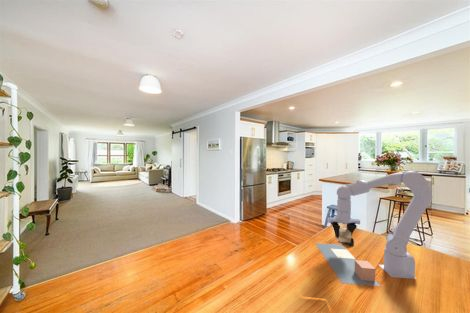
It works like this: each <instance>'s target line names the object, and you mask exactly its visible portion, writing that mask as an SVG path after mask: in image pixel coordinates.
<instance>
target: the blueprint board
mask: <svg viewBox="0 0 470 313" xmlns="http://www.w3.org/2000/svg"><path fill="white" fill-rule="evenodd" d="M315 245H316V247H317V248H318V249H319V251H320V253H321V254H322V255H323V257H324V259H325V260H326V261H327V263H328V265H329V266H330V267H331V269H332V270H333V272H334V273H335V275H336V276H337V279H339V281H340V282H341V283H342V284H347V285H348V284H349V285H360V286H376V287H381V284H380V283H378V282H377V280H376V279H375V281H365V280H361V279H360V278H359V277H358V275H357V274H356V273H355V272H354V270H355V260H357V259H356V258H355V256H354V255H353V254H352V253H351V252H350V251H349V250H348V249H347V248H346V247H345V246H344V245H343V244H337V243H336V244H335V243H321V242H319V243H318V242H315Z"/></svg>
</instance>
